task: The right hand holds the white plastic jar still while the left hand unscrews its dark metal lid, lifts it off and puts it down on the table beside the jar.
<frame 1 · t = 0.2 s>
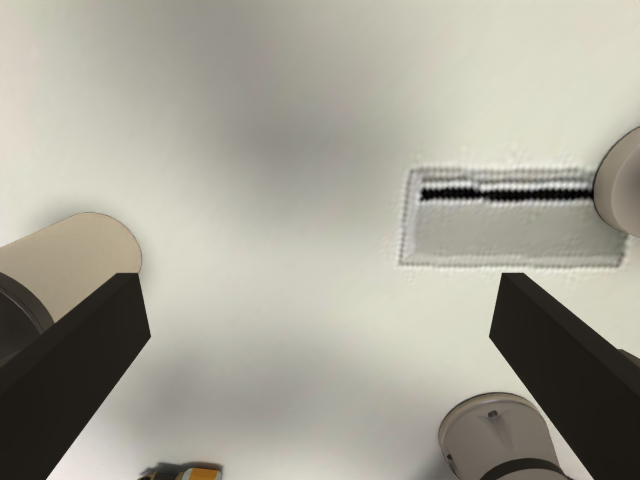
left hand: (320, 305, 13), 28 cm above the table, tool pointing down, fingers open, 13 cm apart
jar: (99, 252, 42), on the table
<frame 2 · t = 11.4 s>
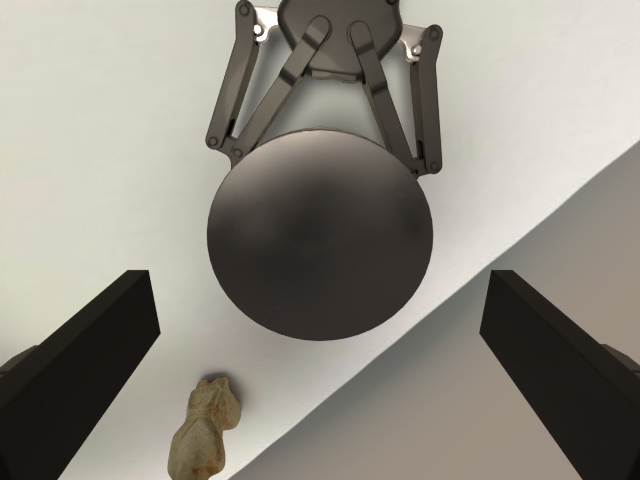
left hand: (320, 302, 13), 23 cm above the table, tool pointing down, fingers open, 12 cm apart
right hand: (314, 245, 30), fingers closed on jar, 10 cm apart
sculpture: (220, 392, 44), on the table
lid: (320, 244, 18), point 17 cm above the table, screwed on, not yet turned
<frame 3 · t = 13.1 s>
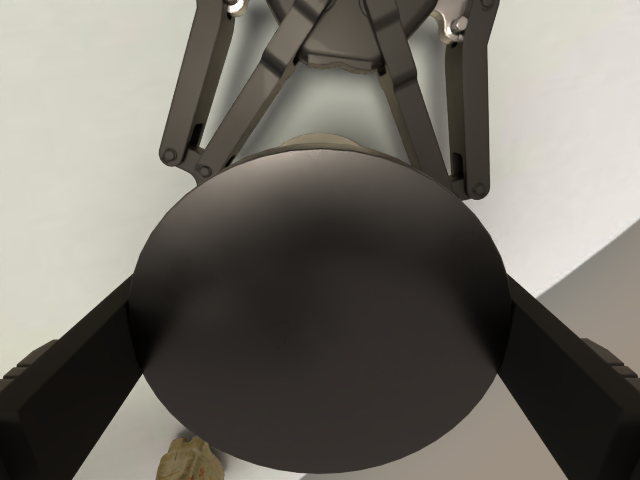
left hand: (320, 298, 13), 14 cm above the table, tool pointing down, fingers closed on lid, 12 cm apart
right hand: (312, 291, 22), fingers closed on jar, 10 cm apart
sculpture: (200, 450, 36), on the table
lid: (320, 335, 11), point 17 cm above the table, screwed on, not yet turned, touching left hand
jar: (319, 202, 27), on the table, touching right hand
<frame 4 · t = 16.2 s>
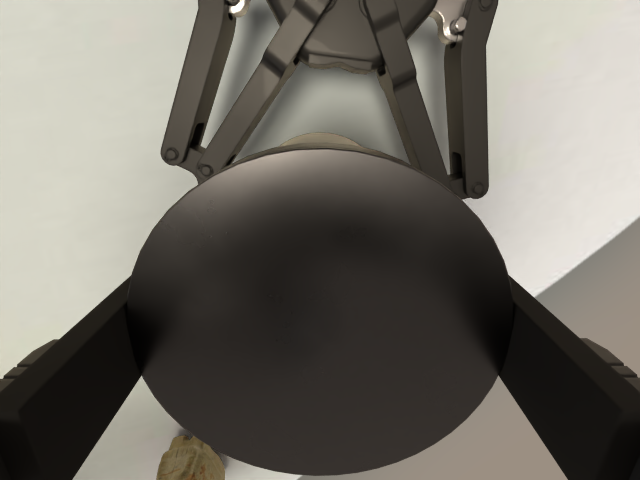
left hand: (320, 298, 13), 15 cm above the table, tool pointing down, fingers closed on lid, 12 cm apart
right hand: (312, 289, 23), fingers closed on jar, 10 cm apart
sculpture: (200, 448, 36), on the table
lid: (320, 336, 11), point 17 cm above the table, turned 96° so far, risen 0.3 cm, still on its thread, touching left hand
jar: (320, 201, 27), on the table, touching right hand
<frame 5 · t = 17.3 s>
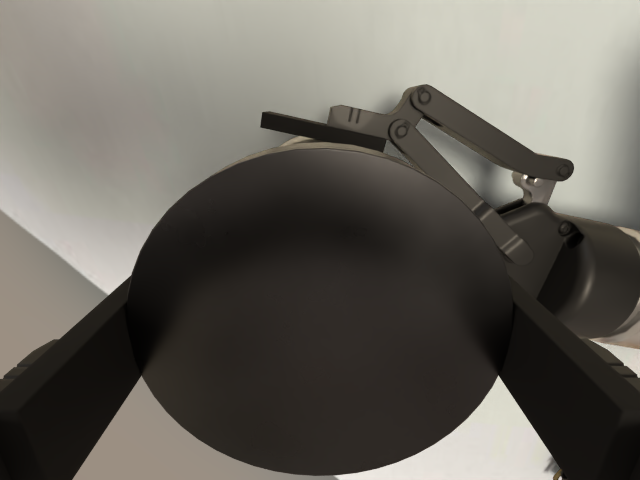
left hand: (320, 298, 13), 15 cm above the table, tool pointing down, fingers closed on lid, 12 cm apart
right hand: (251, 213, 21), fingers closed on jar, 10 cm apart
lid: (320, 336, 11), point 17 cm above the table, off its thread, touching left hand
when the left hand's fingers open (0 cm above the table, at t = 22.9 s): lid drops 1 cm, point 1 cm above the table.
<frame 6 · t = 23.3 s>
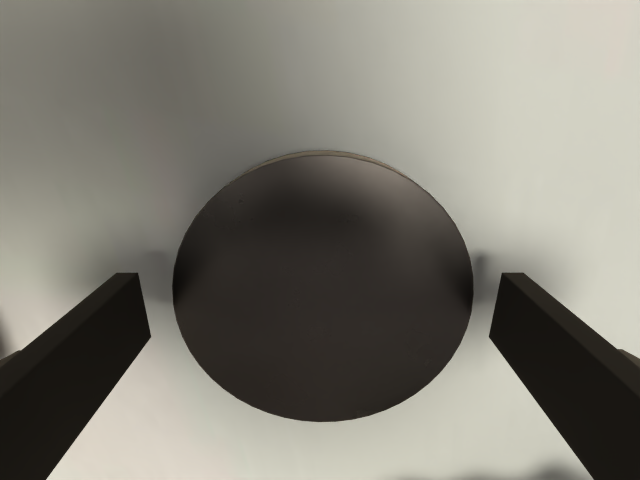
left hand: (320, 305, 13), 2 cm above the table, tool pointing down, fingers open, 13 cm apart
lid: (322, 303, 14), point 1 cm above the table, off its thread
when the right hand's fingers open (6 cm above the table, at t = 23.9 s): jar stays where it is, on the table.
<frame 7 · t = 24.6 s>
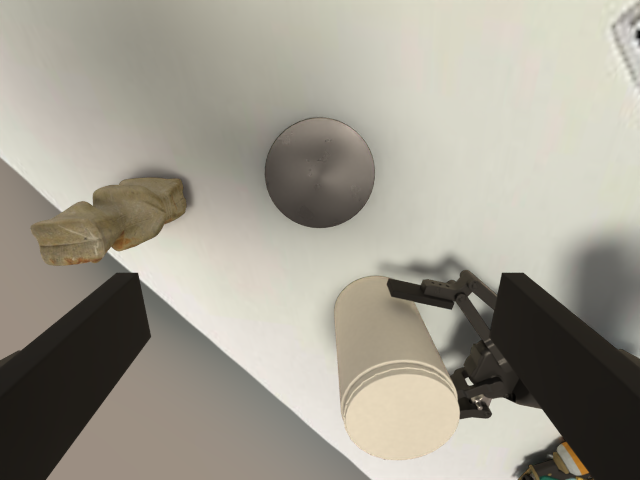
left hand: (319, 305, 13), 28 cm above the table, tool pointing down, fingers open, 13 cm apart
right hand: (371, 339, 39), fingers open, 13 cm apart
sculpture: (161, 194, 40), on the table
lid: (319, 175, 38), point 1 cm above the table, off its thread
jar: (373, 311, 45), on the table
spray gun: (576, 465, 55), on the table
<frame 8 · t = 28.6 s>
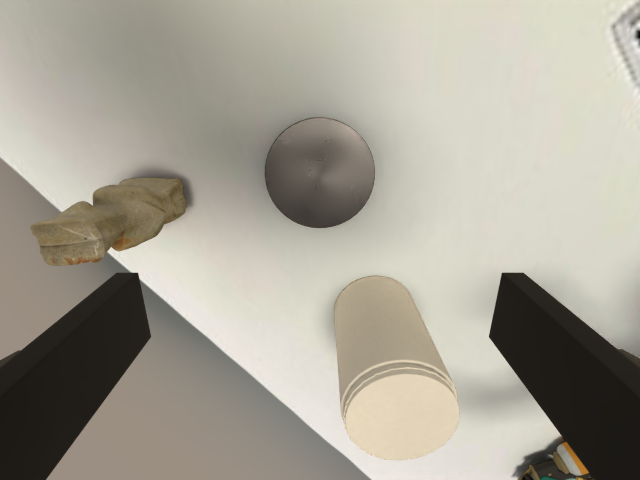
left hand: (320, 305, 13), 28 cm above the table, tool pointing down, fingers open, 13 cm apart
sculpture: (161, 194, 40), on the table
lid: (319, 175, 38), point 1 cm above the table, off its thread
jar: (373, 311, 45), on the table
spray gun: (576, 465, 55), on the table
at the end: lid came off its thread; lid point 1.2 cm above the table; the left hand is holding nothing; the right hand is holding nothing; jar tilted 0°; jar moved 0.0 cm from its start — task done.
